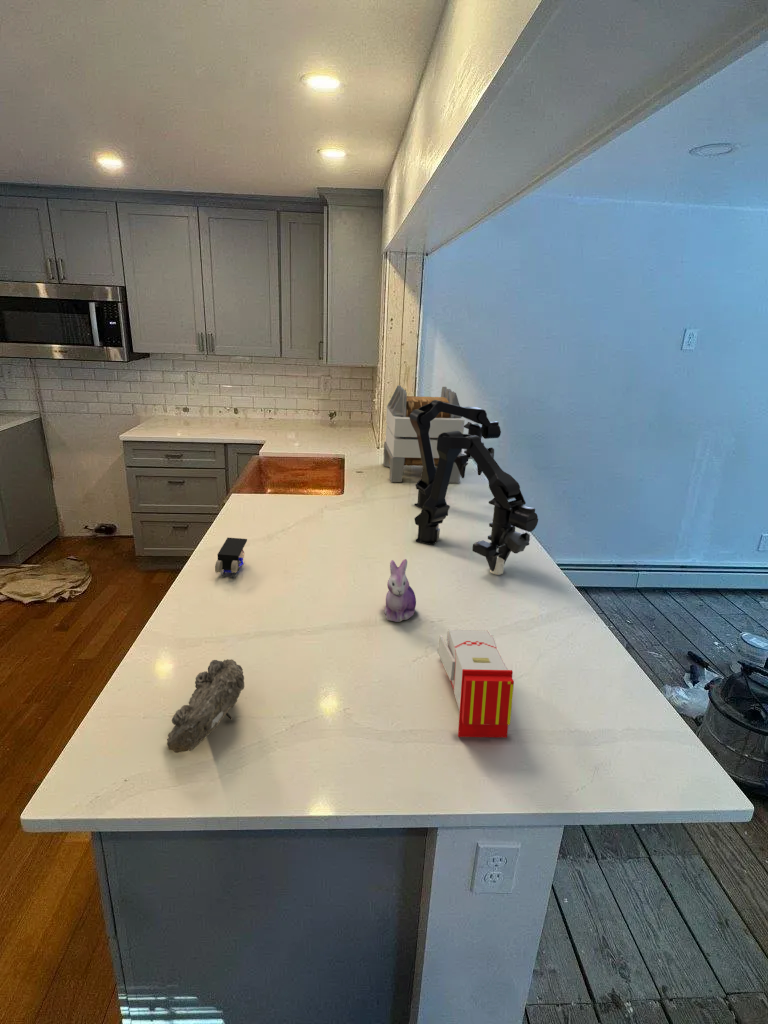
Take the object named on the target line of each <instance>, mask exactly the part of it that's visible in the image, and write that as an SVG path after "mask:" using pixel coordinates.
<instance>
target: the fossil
mask: <svg viewBox="0 0 768 1024" xmlns="http://www.w3.org/2000/svg"><path fill="white" fill-rule="evenodd" d="M243 670H244V669H243V667H242V665H240V664H237V662H236V661H235V660H234V659H232V658H231V659H227V658H226V659H224V660H223V661H222V660H217V659H212V660H211V661H210V663H209V665H208V666H207V671H201V672H199V673H198V674H197V675H196V676H195V680H194V684H195V685H194V687H195V689H194V690H193V693H192V694H191V697H190V698H189V700H188V704H184V705H182V706H181V707H180V709H177V710H176V711H175V713H174V715H173V716H172V718H171V723H172V724H173V727H172V730H171V731H170V732H168V734H167V738H166V741H167V742H166V745H167V749H168V750H169V751H173V752H174V753H176V754H178V753H182V752H188V751H189V752H192V751H193V750H195V748H196V747H197V746H199V744H200V743H201V742H203V741H204V740H205V739H206V738H207V737H208V736H209V735H210V734H211V733H212V732H214V730H215V729H217V727H218V726H219V724H220V722H221V721H222V720H223V719H224V718H225V716H226V717H227V719H229V720H233V717H232V715H230V714H229V710H230V709H231V708H234V706H235V704H236V703H237V702H238V699H239V697H240V695H241V693H242V691H243V690H245V689H244V688H245V675H244V671H243Z"/></svg>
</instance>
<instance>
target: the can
mask: <svg viewBox="0 0 768 1024" xmlns="http://www.w3.org/2000/svg"><path fill="white" fill-rule="evenodd" d="M504 568H505V564H504V559H502V558H499V557H497V560H496V565H495V569H494V571H491V570H490V569H489V572H490V574H492V575H497V576H500V575H503V573H504Z"/></svg>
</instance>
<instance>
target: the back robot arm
mask: <svg viewBox="0 0 768 1024" xmlns="http://www.w3.org/2000/svg"><path fill="white" fill-rule="evenodd" d="M440 412H445V413H449V414H453V415H457V416H462V417H461V418H463V419H466V420H468V421H467V422H466V424H464V429H467V430H468V431H467V434H469V435H473V436H474V435H476V436H479V437H480V438H481V442H482V443H483V445H484V446H485V442H484V441H483V439H485V440H488V439H499V438H500V437H501V434H502V430H501V427H500V423H499V421H497V420H495V421H490V420H489V417H488V414H487V411H486V410H485V409H483V408H480V407H477V406H461V405H460V406H457V405H453V404H449V403H445V402H442V401H439V400H434V401H432V402H430V403H429V404H427V405H424V406H422V407H420V408H419V409H416V410H413V411H412V412H411V414H410V421H411V424H412V427H413V428H414V430H415V432H416V434H417V438H418V444H419V449H420V454H421V460H422V465H423V466H422V469H421V473H420V476H421V477H420V479H419V480H418V481H417V482H416V483H415V489H416V490H417V502H416V503H414V506H416V507H418V508H419V509H421V510H422V508H423V506H424V503H425V502H426V501H427V500H428V498H429V497H430V495H431V491H432V487H433V482H434V478H435V474H436V469H437V467H436V466H434V460H433V454H432V449H431V443H430V437H429V430H430V426H431V422H430V421H432V420H433V419H434V418H435V417H436V416H437V415H438V414H439V413H440ZM472 422H474V423H472ZM486 449H487V450H488V451H489V453H490V454H491V456H492V457H493V458H494V459H495V448H494V447H486ZM472 459H473V458H472V456H471V455H470V453H469V452H468V451H467V449H465V450H464V451H463V452H462V453H460V454H459V455H458V456H457V457H456V459H455V460H454V462H455V463H456V465H457V467H458V469H459V472H460V478H462V479H464V478H465V476H466V468H467V466H468V465H469V463H468V462H469V460H472ZM473 460H474V459H473ZM476 470H477V475H478V476H481V475H482V473H483V472H482V470H481V469H480V467H479V466H478V465H477V464H476Z"/></svg>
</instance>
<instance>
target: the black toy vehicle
mask: <svg viewBox="0 0 768 1024" xmlns="http://www.w3.org/2000/svg"><path fill="white" fill-rule="evenodd" d="M247 542H248V538H240V537H226V539H225V541H224V543H223V544H222V546H221V547H220V549H219V551H218V552H217V560H216V562H215V564H214V572H215V573H221V577H222V578H224V577H225V576H226V574H227V573H230V574H231V573H232V574H231V578H234V577H235V575H236V573H237V572H239V571H240V567H242V566H243V565H244V564H245V562H244V558H245V551H244V547H245V546H246V544H247Z"/></svg>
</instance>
